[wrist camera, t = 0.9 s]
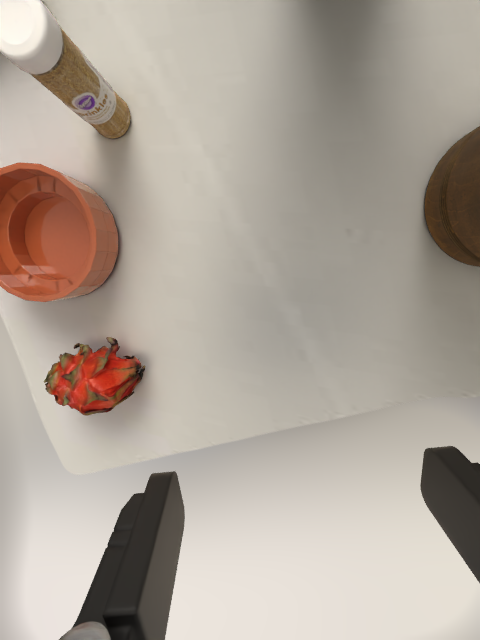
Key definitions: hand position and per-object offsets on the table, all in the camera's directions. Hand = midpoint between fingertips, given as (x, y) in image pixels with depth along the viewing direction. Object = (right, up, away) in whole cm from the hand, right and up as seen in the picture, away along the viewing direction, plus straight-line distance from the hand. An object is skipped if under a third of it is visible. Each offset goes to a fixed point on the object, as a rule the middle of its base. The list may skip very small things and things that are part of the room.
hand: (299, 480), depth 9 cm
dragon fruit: (-19, -1, +30) cm, 35 cm away
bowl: (-24, +15, +27) cm, 39 cm away
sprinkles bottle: (-16, +28, +24) cm, 41 cm away
